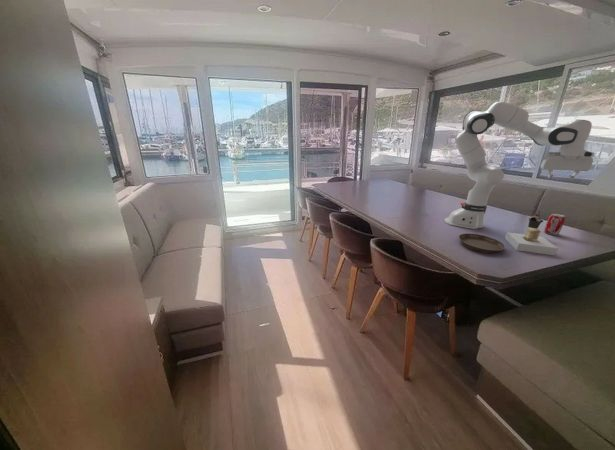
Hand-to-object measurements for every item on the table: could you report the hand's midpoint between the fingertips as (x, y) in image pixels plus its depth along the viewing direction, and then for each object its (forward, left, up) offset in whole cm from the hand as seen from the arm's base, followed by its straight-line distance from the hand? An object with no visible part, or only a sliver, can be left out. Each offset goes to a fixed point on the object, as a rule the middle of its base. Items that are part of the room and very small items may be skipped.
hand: (560, 178), depth 136 cm
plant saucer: (-39, -32, -35) cm, 61 cm away
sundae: (-6, -4, -34) cm, 35 cm away
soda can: (+8, +5, -34) cm, 36 cm away
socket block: (-14, -23, -34) cm, 43 cm away
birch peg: (-14, -23, -34) cm, 43 cm away
